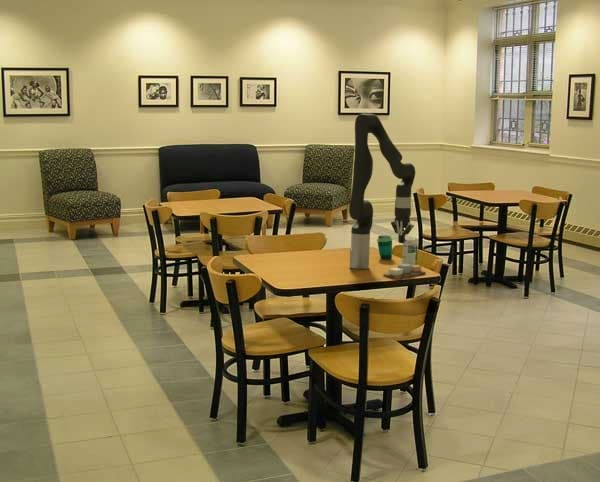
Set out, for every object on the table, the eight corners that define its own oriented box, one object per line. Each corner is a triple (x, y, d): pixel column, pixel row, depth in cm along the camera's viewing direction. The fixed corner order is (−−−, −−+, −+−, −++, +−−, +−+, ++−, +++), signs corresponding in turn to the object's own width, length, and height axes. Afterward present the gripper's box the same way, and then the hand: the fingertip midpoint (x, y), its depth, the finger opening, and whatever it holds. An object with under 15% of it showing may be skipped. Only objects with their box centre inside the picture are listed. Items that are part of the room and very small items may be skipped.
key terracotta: (414, 274, 383) (414, 267, 383) (406, 272, 387) (406, 265, 386) (420, 273, 386) (421, 266, 386) (413, 271, 390) (413, 264, 389)
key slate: (405, 273, 379) (405, 266, 378) (397, 272, 382) (398, 264, 382) (412, 272, 382) (412, 265, 381) (404, 270, 386) (404, 263, 385)
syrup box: (406, 268, 399) (407, 239, 396) (401, 265, 405) (402, 237, 402) (416, 267, 401) (418, 239, 398) (412, 265, 406) (413, 236, 404)
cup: (391, 260, 416) (392, 238, 414) (375, 260, 417) (376, 237, 415) (392, 258, 424) (393, 235, 422) (377, 257, 425) (377, 234, 423)
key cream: (395, 278, 375) (396, 270, 374) (388, 276, 378) (388, 268, 378) (402, 276, 378) (403, 269, 377) (395, 275, 382) (395, 267, 381)
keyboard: (397, 279, 373) (397, 277, 372) (383, 276, 379) (383, 273, 379) (425, 274, 386) (425, 271, 385) (411, 271, 392) (411, 268, 392)
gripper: (419, 207, 372) (417, 244, 375) (398, 204, 382) (396, 240, 385) (408, 208, 367) (406, 245, 370) (387, 205, 377) (385, 241, 380)
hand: (401, 242), depth 377 cm, fingers closed
